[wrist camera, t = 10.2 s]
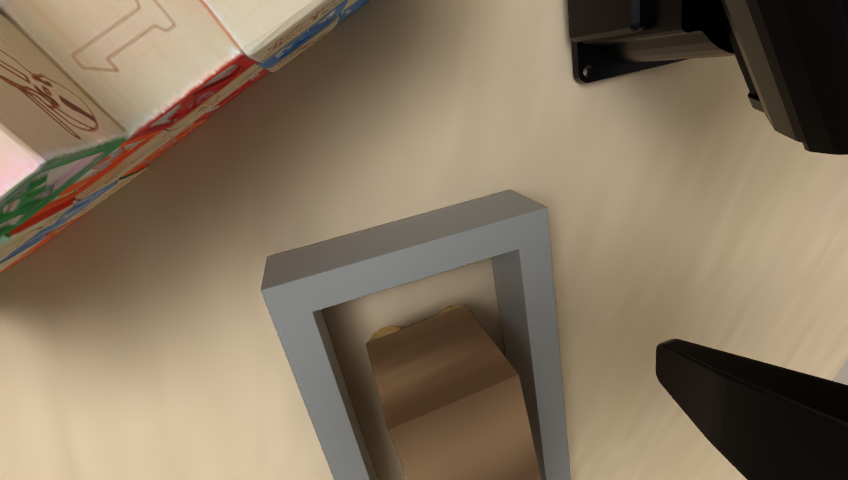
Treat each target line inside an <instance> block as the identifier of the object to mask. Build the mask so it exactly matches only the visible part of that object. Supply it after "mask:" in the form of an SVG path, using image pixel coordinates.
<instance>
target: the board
mask: <svg viewBox="0 0 848 480" xmlns="http://www.w3.org/2000/svg"><path fill="white" fill-rule="evenodd" d="M366 346H367V350H368V354H369V358H370V362H371V365H372V369H373V373H374V377H375V381H376V385H377V388H378V392H379V396H380V400H381V404H382V408H383V412H384V415H385V419H386V423H387V427H388V430H389V433H390V436H391V438H392V441H393V443H394V446H395V448H396V451H397V453H398V456H399V458H400V461H401V463H402V466H403V468H404V471H405V473H406V476H407V478H408V480H541V475H540V471H539V466H538V461H537V457H536V452H535V448H534V443H533V438H532V434H531V429H530V424H529V420H528V415H527V410H526V406H525V401H524V396H523V392H522V387H521V383H520V378H519V374H518V373H517V372H516V370H515V369H514V368H513V367H512V365H511V364H510V363H509V361H508V360H507V359H506V357H505V356H504V355H503V353H502V352H501V351H500V350H499V348H498V347H497V346H496V344H495V343H494V342H493V340H492V339H491V338H490V336H489V335H488V334H487V333H486V331H485V330H484V329H483V327H482V326H481V325H480V323H479V322H478V321H477V319H476V318H475V317H474V316H473V314H472V313H471V312H470V310H469V309H468V308H467V306H466V305H463V306H460V307H458V308H455V309H453V310H450V311H447V312H445V313H442V314H440V315H437V316H435V317H432V318H429V319H427V320H424V321H422V322H419V323H416V324H414V325H411V326H409V327H406V328H403V329H401V330H398V331H396V332H393V333H391V334H388V335H385V336H383V337H380V338H378V339H375V340H372V341H370V342H367V343H366Z"/></svg>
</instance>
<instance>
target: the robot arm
mask: <svg viewBox="0 0 848 480" xmlns="http://www.w3.org/2000/svg"><path fill="white" fill-rule="evenodd" d="M568 14H569V32H570V38H571V39H572V57H573V74H574V78H575V80H576V81H577V82H579V83H589V82H594V81H598V80H602V79H606V78H611V77H615V76H619V75H623V74H627V73H632V72H636V71H640V70H644V69H649V68H653V67H657V66H661V65H666V64H670V63H674V62H678V61H682V60H687V59H691V58H704V57H718V56H731V55H735V56H736V58H737V61H738V63H739V66H740V68H741V71H742V73H743V76H744V78H745V81H746V83H747V86H748V88H749V91H750V93H749V94H748V98H749V100H750V103H751V105H752V107H753V108H755V109H757V110H759V111H762V112H764V113H765V115H766V117H767V118H768V120H769V122H770V123H771V125H772V126H773V128H774V130H775V131H777V132H779V133H781V134H783V135H785V136H787V137H789V138H791V139H793V140H795V141H798V142H802V143H803V146H804V148H805V150H807V151H810V152H818V153H827V154H837V155H848V0H568ZM585 67H587V70H588V72H587V75H586V76H584V74H583V70H584V68H585ZM656 375H657V378H658V380H659V382H660V383H661V384H662V386H663V387H664V388H665V389H666V390H667V392H668V393H669V394H670V395H671V396H672V398H673V399H674V400H675V401H676V402H677V404H678V405H679V406H680V407H681V408H682V410H683V411H684V412H685V413H686V414H687V415H688V417H689V418H690V419H691V420H692V421H693V423H694V424H695V425H696V426H697V427H698V429H699V430H700V431H701V432H702V433H703V434H704V436H705V437H706V438H707V439H708V440H709V441H710V442H711V443H712V444H713V445H714V446H715V448H716V449H717V450H718V451H719V452H720V453H721V454H722V455H723V456H724V457H725V458H726V459H727V460H728V461H729V462H730V463H731V464H732V465H733V466H734V467H735V468H736V469H737V470H738V471H739V472H740V473H741V474H742V475H743V476H744V477H745V478H746V479H747V480H848V385H844V384H841V383H838V382H834V381H830V380H827V379H823V378H819V377H816V376H812V375H808V374H805V373H801V372H797V371H793V370H790V369H786V368H782V367H779V366H775V365H771V364H768V363H764V362H760V361H757V360H753V359H749V358H746V357H742V356H738V355H735V354H731V353H727V352H724V351H720V350H716V349H713V348H709V347H705V346H702V345H698V344H694V343H691V342H687V341H683V340H680V339H670V340H667V341H665V342H662V343H660V344H658V346H657V348H656Z"/></svg>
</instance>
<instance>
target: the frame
mask: <svg viewBox="0 0 848 480" xmlns="http://www.w3.org/2000/svg"><path fill="white" fill-rule="evenodd" d="M487 258H492V265H493V272H494V279H495V286H496V292H497V299H498V306H499V313H500V320H501V327H502V333H503V340H504V347H505V354H506V359H507V360H508V361H509V363H510V364H511V365H512V367H513V368H514V369H515V370H516V372H517V373H518V374H519V378H520V383H521V387H522V392H523V396H524V401H525V406H526V410H527V415H528V420H529V424H530V429H531V434H532V438H533V443H534V448H535V452H536V457H537V461H538V466H539V471H540V475H541V480H571V477H570V465H569V453H568V442H567V430H566V419H565V407H564V396H563V384H562V373H561V361H560V350H559V338H558V326H557V315H556V303H555V292H554V280H553V269H552V257H551V246H550V234H549V222H548V211H547V207H545V206H543V205H541V204H539V203H537V202H535V201H533V200H531V199H529V198H527V197H525V196H523V195H521V194H519V193H516V192H514V191H512V190H507V191H503V192H499V193H496V194H492V195H489V196H485V197H481V198H478V199H474V200H470V201H467V202H463V203H460V204H456V205H452V206H449V207H445V208H442V209H438V210H434V211H431V212H427V213H424V214H420V215H416V216H413V217H409V218H405V219H402V220H398V221H395V222H391V223H387V224H384V225H380V226H377V227H373V228H369V229H366V230H362V231H359V232H355V233H351V234H348V235H344V236H341V237H337V238H333V239H330V240H326V241H322V242H319V243H315V244H312V245H308V246H304V247H301V248H297V249H294V250H290V251H286V252H283V253H279V254H276V255H272V256H268V257H267V260H266V265H265V271H264V276H263V281H262V287H261V292H262V295H263V297H264V300H265V303H266V305H267V308H268V310H269V313H270V315H271V318H272V321H273V323H274V326H275V328H276V331H277V333H278V336H279V339H280V341H281V344H282V346H283V349H284V351H285V354H286V357H287V359H288V362H289V364H290V367H291V370H292V372H293V375H294V377H295V380H296V382H297V385H298V388H299V390H300V393H301V395H302V398H303V400H304V403H305V406H306V408H307V411H308V413H309V416H310V418H311V421H312V424H313V426H314V429H315V431H316V434H317V436H318V439H319V442H320V444H321V447H322V449H323V452H324V455H325V457H326V460H327V462H328V465H329V467H330V470H331V473H332V475H333V478H334V480H378V479H377V476H376V473H375V470H374V467H373V464H372V461H371V458H370V455H369V452H368V449H367V446H366V443H365V440H364V437H363V434H362V431H361V428H360V425H359V422H358V419H357V416H356V413H355V410H354V407H353V404H352V401H351V398H350V395H349V392H348V389H347V386H346V383H345V380H344V377H343V374H342V371H341V368H340V365H339V362H338V359H337V356H336V353H335V350H334V347H333V344H332V341H331V338H330V335H329V332H328V329H327V326H326V323H325V320H324V317H323V314H322V311H321V309H324V308H327V307H330V306H333V305H337V304H340V303H343V302H347V301H350V300H353V299H356V298H360V297H363V296H366V295H369V294H373V293H376V292H379V291H383V290H386V289H389V288H392V287H396V286H399V285H402V284H406V283H409V282H412V281H415V280H419V279H422V278H425V277H428V276H432V275H435V274H438V273H442V272H445V271H448V270H451V269H455V268H458V267H461V266H464V265H468V264H471V263H474V262H478V261H481V260H484V259H487ZM458 307H460V306H458V305H455V306H450V307H447V308H445V309H444V310H442V311H441V312H440V313H439V314H438V315H440V314H442V313H445V312H447V311H450V310H453V309H455V308H458ZM398 330H401V328H399V327H394V326H389V327H384V328H382V329H380V330H378V331H377V332H375V333H374V334H373V335H372V337H371V338H370V340H369V342H370V341H372V340H375V339H378V338H380V337H383V336H385V335H388V334H391V333H393V332H396V331H398ZM403 470H404V468H403ZM404 474H405V477H406V480H408V478H407V476H406V473H405V471H404Z"/></svg>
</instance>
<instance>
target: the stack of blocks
mask: <svg viewBox="0 0 848 480" xmlns="http://www.w3.org/2000/svg"><path fill="white" fill-rule="evenodd" d="M368 1H370V0H0V273H2V272H3V271H5V270H6V269H8V268H10V267H11V266H13V265H14V264H16V263H18V262H19V261H21V260H22V259H24V258H25V257H27V256H29V255H30V254H31V253H33V252H34V251H35V250H37V249H38V248H39V247H41V246H42V245H44V244H45V243H46V242H48V241H49V240H50V239H52V238H53V237H54V236H56V235H57V234H58V233H60V232H61V231H63V230H64V229H65V228H67V227H68V226H69V225H71V224H72V223H73V222H75V221H76V220H77V219H79V218H80V217H82V216H83V215H84V214H86V213H87V212H88V211H89V210H91V209H93V208H94V207H96V206H97V205H98V204H100V203H101V202H103V201H104V200H105V199H107V198H108V197H110V196H111V195H112V194H114V193H115V192H116V191H118V190H119V189H120V188H122V187H123V186H125V185H126V184H127V183H129V182H130V181H131V180H133V179H134V178H135V177H137V176H138V175H139V174H141V173H142V172H144V171H145V170H146V169H148V167H149V165H150V162H151V161H152V160H153V159H155V158H156V157H158V156H159V155H161V154H162V153H164V152H165V151H166V150H167V149H169V148H170V147H171V146H172V145H174V144H175V143H177V142H178V141H179V140H181V139H182V138H183V137H185V136H186V135H187V134H189V133H190V132H191V131H193V130H194V129H196V128H197V127H198V126H200V125H201V124H202V123H204V122H205V121H207V120H208V118H209V116H210V115H211V114H212V113H214V112H215V111H217V110H218V109H220V108H221V107H223V106H224V105H225V104H227V103H228V102H229V101H231V100H232V99H233V98H235V97H236V96H237V95H239V94H240V93H241V92H243V91H244V90H245V89H247V88H248V87H249V86H251V85H252V84H254V83H255V82H256V81H257V80H259V79H260V78H262V77H263V76H264V75H266V74H267V73H268V72H269V71H270V72H276V71H277V70H279V69H280V68H282V67H283V66H284V65H286V64H287V63H288V62H290V61H291V60H292V59H294V58H295V57H297V56H298V55H299V54H301V53H302V52H303V51H305V50H306V49H307V48H309V47H310V46H311V45H313V44H314V43H315V42H317V41H318V40H320V39H321V38H322V37H324V36H325V35H326V34H328V33H329V32H330V31H332V30H333V29H334V28H335V26H336V25H337V24H338V23H340V22H341V21H342V20H344V19H345V18H347V17H348V16H349V15H351V14H352V13H353V12H355V11H356V10H358V9H359V8H360V7H362V6H363V5H364V4H366V3H367V2H368Z"/></svg>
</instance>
